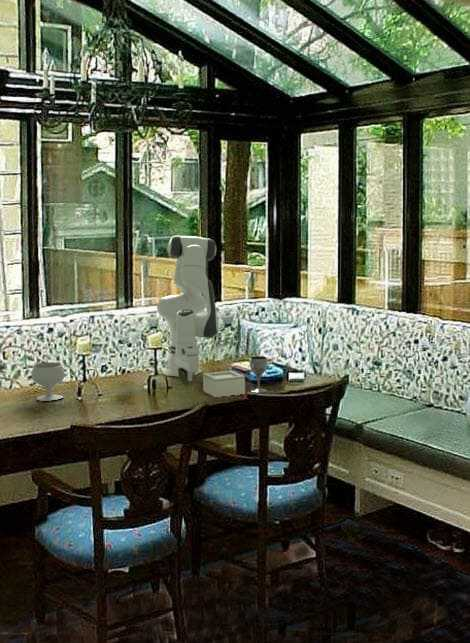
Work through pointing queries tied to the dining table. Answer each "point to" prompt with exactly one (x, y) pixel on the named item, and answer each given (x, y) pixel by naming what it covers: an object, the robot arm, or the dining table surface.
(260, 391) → the wine glass
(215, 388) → the open grey box
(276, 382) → the dining table surface
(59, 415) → the dining table surface
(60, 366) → the chalice
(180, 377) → the cup
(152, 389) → the dining table surface
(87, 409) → the dining table surface
